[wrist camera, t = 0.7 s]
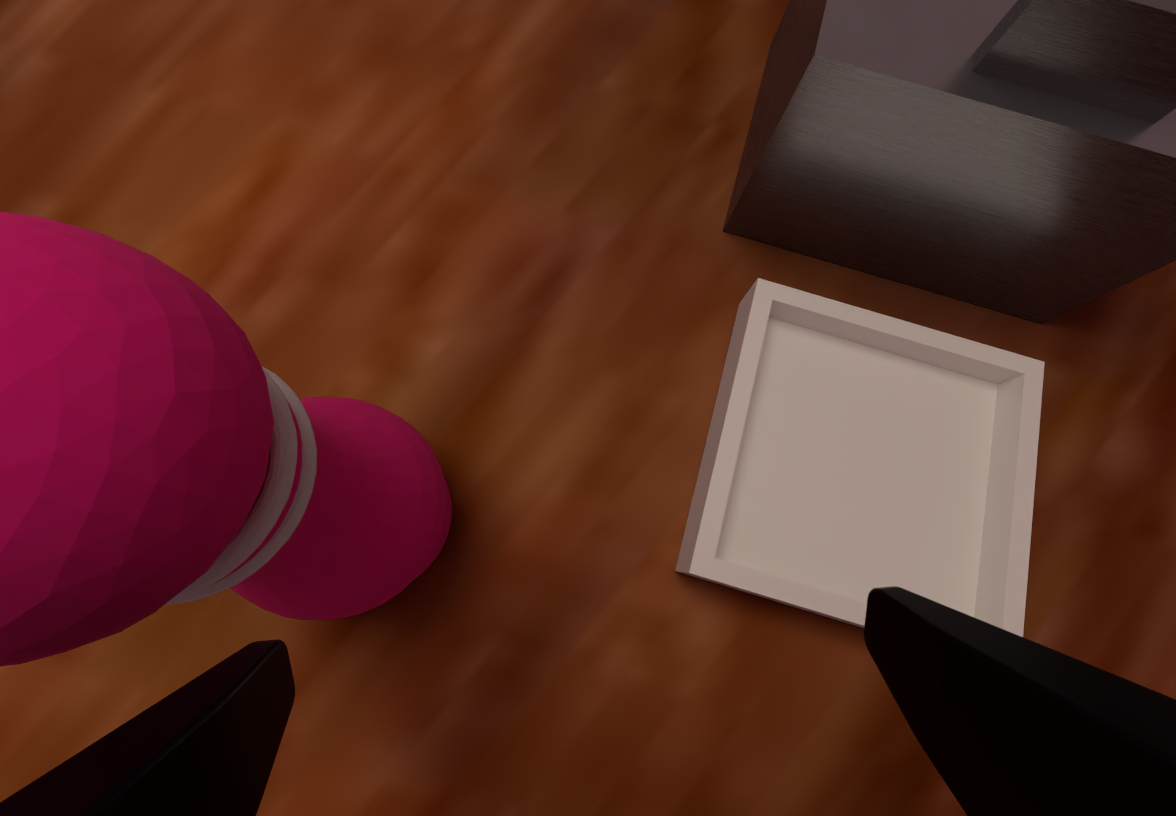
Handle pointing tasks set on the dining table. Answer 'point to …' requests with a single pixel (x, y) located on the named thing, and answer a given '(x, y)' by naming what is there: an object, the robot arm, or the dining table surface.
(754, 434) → the tray
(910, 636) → the robot arm
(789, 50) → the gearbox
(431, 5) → the dining table surface
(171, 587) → the pepper mill
